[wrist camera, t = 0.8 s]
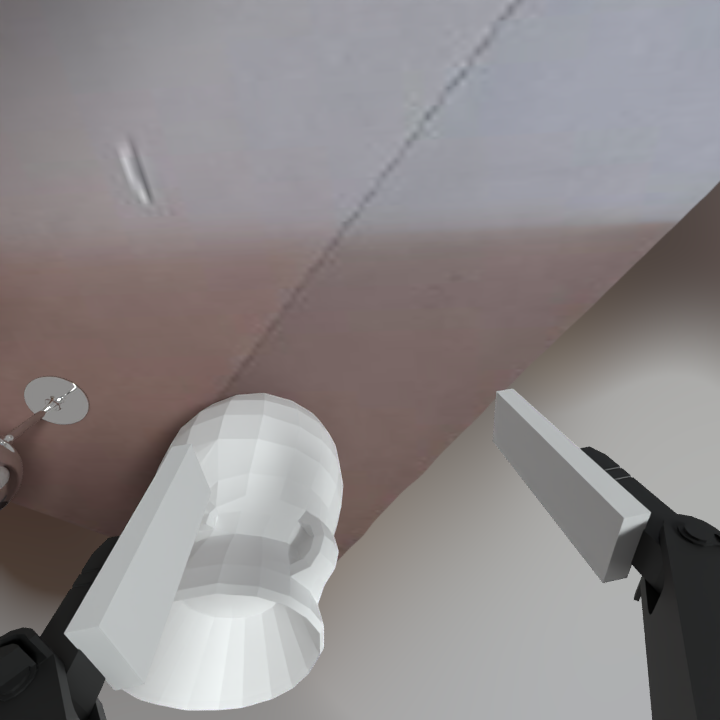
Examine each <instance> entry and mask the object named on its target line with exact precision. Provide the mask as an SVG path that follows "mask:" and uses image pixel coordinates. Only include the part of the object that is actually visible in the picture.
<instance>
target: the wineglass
mask: <svg viewBox="0 0 720 720" xmlns="http://www.w3.org/2000/svg"><path fill="white" fill-rule="evenodd" d="M24 398H25V401H26V404H27V406H28V407H29V408H30V410H31V411H32V412H33V413H34V415H32V416H31V417H30V418H28V419H27V420H26V421H24V422H23V423H22V424H20V425H19V426H18V427H16V428H15V429H13V430H12V431H11V432H9V433H8V434H6V435H3V436H0V510H1V509H2V508H4V507H5V506H6V505H7V504H8V503H9V502H10V501H11V500H12V499H13V497H14V496H15V495H16V493H17V492H18V490H19V488H20V485H21V482H22V478H23V464H22V460H21V458H20V455H19V453H18V452H17V450H16V449H15V448H14V446H13V442H14V440H15V439H16V438H17V437H19V436H20V435H21V434H22V433H24V432H25V431H26V430H28V429H29V428H30V427H31V426H33V425H34V424H35V423H36V422H38V421H39V420H40V419H44V420H46V421H48V422H51V423H56V424H72V423H76V422H78V421H80V420H82V419H83V418H84V417H85V416H86V415H87V413H88V411H89V400H88V397H87V395H86V394H85V392H84V391H83V390H82V389H81V388H80V387H79V386H78V385H76V384H75V383H73V382H72V381H70V380H67V379H65V378H61V377H57V376H43V377H39V378H36V379H34V380H33V381H31V382H30V383H29V384H28V385H27V386H26V388H25V392H24Z"/></svg>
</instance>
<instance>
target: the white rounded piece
mask: <svg viewBox="0 0 720 720" xmlns="http://www.w3.org/2000/svg"><path fill="white" fill-rule="evenodd" d="M186 444H192V447H193V449H194V452H195V454H196V456H197V459H198V461H199V464H200V466H201V469H202V471H203V473H204V476H205V478H206V481H207V483H208V486H209V488H210V490H211V495H210V498H209V501H208V504H207V506H206V509H205V512H204V515H203V518H202V521H201V524H200V527H199V529H198V532H197V535H196V538H195V541H194V544H193V547H192V549H191V552H190V555H189V558H188V561H187V564H186V567H185V569H184V572H183V575H182V578H181V581H180V584H179V587H178V589H177V592H176V595H175V598H174V601H173V604H172V607H171V610H170V612H169V615H168V618H167V621H166V624H165V627H164V630H163V632H162V635H161V638H160V641H159V644H158V647H157V650H156V652H155V655H154V658H153V661H152V664H151V667H150V670H149V672H148V675H147V678H146V681H145V684H142V685H138V686H133V687H129V688H124V689H122V690H124V691H126V692H127V693H129V694H130V695H132V696H134V697H135V698H137V699H139V700H143V701H146V702H149V703H153V704H157V705H162V706H167V707H172V708H177V709H183V710H225V709H235V708H243V707H247V706H250V705H254V704H257V703H260V702H264V701H267V700H271V699H273V698H275V697H277V696H279V695H281V694H283V693H285V692H286V691H288V690H290V689H292V688H294V687H295V686H296V685H297V684H298V683H299V682H300V681H301V680H302V679H303V678H304V677H305V676H306V675H308V673H309V672H310V671H311V669H312V668H313V666H314V664H315V663H316V661H317V659H318V657H319V656H320V654H321V652H322V650H323V648H324V624H323V621H322V618H321V614H320V611H319V607H318V602H319V599H320V596H321V594H322V591H323V588H324V585H325V583H326V581H327V580H328V579H329V577H330V575H331V574H332V572H333V571H334V569H335V566H336V562H337V557H338V552H339V551H338V548H337V544H336V540H335V538H334V533H335V530H336V527H337V524H338V519H339V515H340V510H341V504H342V493H343V482H342V476H341V470H340V464H339V459H338V455H337V450H336V445H335V443H334V442H333V440H332V438H331V436H330V434H329V433H328V431H327V430H326V428H325V427H324V426H323V424H322V423H321V422H320V421H319V420H318V418H317V417H316V416H315V415H314V414H313V413H312V412H310V411H308V410H307V409H305V408H303V407H302V406H300V405H298V404H297V403H295V402H293V401H291V400H288V399H284V398H281V397H277V396H273V395H270V394H266V393H257V394H243V395H235V396H232V397H230V398H227V399H224V400H222V401H219V402H217V403H214V404H212V405H210V406H209V407H207V408H205V409H204V410H202V411H201V412H200V413H198V414H197V415H196V416H195V417H193V418H192V419H191V420H190V421H189V422H187V423H186V424H185V425H184V426H183V427H181V429H180V430H179V432H178V434H177V435H176V437H175V438H174V440H173V442H172V443H171V445H170V447H169V449H168V450H167V452H166V454H165V456H164V458H163V460H162V462H161V464H160V465H159V468H158V470H159V469H160V467H161V465H162V463H163V462H164V460H165V458H166V457H167V455H168V453H169V451H170V450H171V448H172V447H174V446H180V445H186ZM158 470H157V472H158ZM156 474H157V473H156Z"/></svg>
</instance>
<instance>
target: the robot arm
mask: <svg viewBox="0 0 720 720" xmlns="http://www.w3.org/2000/svg"><path fill="white" fill-rule="evenodd" d="M493 442H494V444H495V445H496V446H497V447H498V449H499V450H500V451H501V453H502V454H503V455H504V456H505V458H506V459H507V460H508V462H509V463H510V464H511V465H512V467H513V468H514V469H515V470H516V472H517V473H518V474H519V476H520V477H521V478H522V480H523V481H524V482H525V483H526V485H527V486H528V487H529V488H530V490H531V491H532V492H533V494H534V495H535V496H536V498H537V499H538V500H539V501H540V503H541V504H542V505H543V507H544V508H545V509H546V510H547V512H548V513H549V514H550V516H551V517H552V518H553V519H554V521H555V522H556V523H557V524H558V526H559V527H560V528H561V530H562V531H563V532H564V533H565V535H566V536H567V537H568V539H569V540H570V541H571V543H572V544H573V545H574V546H575V548H576V549H577V550H578V552H579V553H580V554H581V555H582V557H583V558H584V559H585V560H586V562H587V563H588V564H589V566H590V567H591V568H592V570H593V571H594V572H595V573H596V575H597V576H598V577H599V578H600V580H601V581H602V582H603V583H605V582H609V581H614V580H619V579H623V578H627V576H628V574H629V571H630V568H631V565H633V566H634V567H635V568H636V569H637V570H638V572H639V573H640V574H641V575H642V577H641V580H640V582H639V585H638V587H637V590H636V593H635V596H634V600H637V601H639V599H640V597H641V598H642V608H643V609H642V610H643V620H644V632H645V643H646V654H647V664H648V676H649V687H650V699H651V710H652V720H720V531H719V530H717V529H716V528H715V527H713V526H711V525H710V524H708V523H706V522H704V521H702V520H700V519H697V518H694V517H692V516H687V515H681V514H676V513H675V512H674V511H673V510H671V509H670V508H669V507H668V506H667V505H665V504H664V503H663V502H662V501H660V500H659V499H658V498H657V497H656V496H654V495H653V494H652V493H651V492H650V491H649V490H647V489H646V488H645V487H644V486H643V485H641V484H640V483H639V482H638V481H637V480H635V479H634V478H631V476H630V475H629V474H628V473H627V472H626V471H625V470H624V469H622V468H620V466H619V465H618V464H616V463H615V462H614V461H613V460H612V459H610V458H609V457H608V456H607V455H605V454H603V453H601V452H599V451H597V450H595V449H593V448H591V447H585V448H579V447H578V446H576V445H575V444H574V443H573V442H572V441H571V440H570V439H568V438H567V437H566V436H565V435H564V434H563V433H562V432H561V431H560V430H558V429H557V428H556V427H555V426H554V425H553V424H552V423H551V422H549V420H547V419H546V418H545V417H544V416H543V415H542V414H541V413H539V412H538V411H537V410H536V409H535V408H534V407H533V406H532V405H531V404H530V403H528V402H527V401H526V400H525V399H524V398H523V397H522V396H521V395H519V394H518V393H517V392H516V391H515V390H514V389H508V390H502V391H496V404H495V417H494V431H493ZM210 495H211V490H210V488H209V486H208V483H207V481H206V478H205V476H204V473H203V471H202V469H201V466H200V464H199V461H198V459H197V456H196V454H195V452H194V449H193V447H192V444H186V445H180V446H174V447H172V448H171V450H170V451H169V453H168V455H167V457H166V458H165V460H164V462H163V463H162V465H161V467H160V469H159V470H158V472H157V474H156V475H155V477H154V479H153V481H152V482H151V484H150V486H149V488H148V489H147V491H146V493H145V494H144V496H143V498H142V500H141V501H140V503H139V505H138V506H137V508H136V510H135V512H134V513H133V515H132V517H131V519H130V520H129V522H128V524H127V525H126V527H125V529H124V531H123V532H122V534H121V536H116V537H111V538H108V539H107V540H106V541H105V542H104V543H103V544H102V545H101V546H100V547H99V548H98V549H97V550H96V551H95V552H94V553H93V554H92V555H91V557H90V559H89V560H88V562H87V563H86V565H85V567H84V568H83V570H82V574H81V575H79V576H78V578H77V579H76V581H75V582H74V584H73V588H72V589H70V591H69V592H68V593H67V595H66V597H65V598H64V600H63V601H62V603H61V605H60V606H59V608H58V609H57V611H56V613H55V614H54V616H53V617H52V619H51V621H50V622H49V624H48V625H47V627H46V628H45V630H44V632H43V633H42V635H41V636H40V637H39V636H38V635H37V634H36V633H35V631H33V629H31V628H20V629H16V630H13V631H10V632H8V633H6V634H5V635H3V636H1V637H0V720H106V716H105V713H104V709H103V706H102V703H101V702H100V701H99V699H98V698H97V697H98V695H99V693H100V690H101V688H102V686H103V683H104V681H105V680H106V682H107V683H109V685H110V686H111V687H112V688H113V689H114V690H120V689H124V688H129V687H133V686H138V685H142V684H145V681H146V678H147V675H148V672H149V670H150V667H151V664H152V661H153V658H154V655H155V652H156V650H157V647H158V644H159V641H160V638H161V635H162V632H163V630H164V627H165V624H166V621H167V618H168V615H169V612H170V610H171V607H172V604H173V601H174V598H175V595H176V592H177V589H178V587H179V584H180V581H181V578H182V575H183V572H184V569H185V567H186V564H187V561H188V558H189V555H190V552H191V549H192V547H193V544H194V541H195V538H196V535H197V532H198V529H199V527H200V524H201V521H202V518H203V515H204V512H205V509H206V506H207V504H208V501H209V498H210Z"/></svg>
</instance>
